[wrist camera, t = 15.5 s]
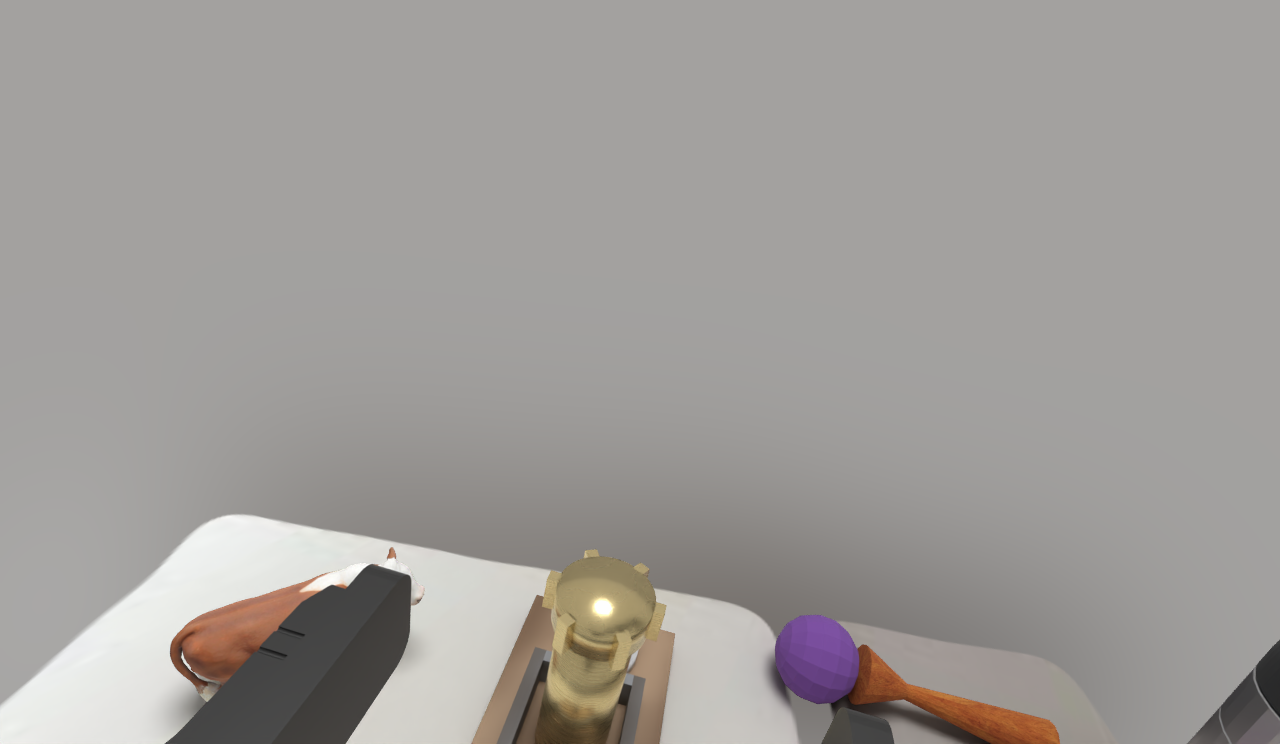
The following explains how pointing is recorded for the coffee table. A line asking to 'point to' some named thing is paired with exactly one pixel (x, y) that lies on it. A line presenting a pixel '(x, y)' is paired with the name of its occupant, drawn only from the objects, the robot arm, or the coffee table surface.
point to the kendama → (886, 683)
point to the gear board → (521, 686)
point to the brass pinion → (593, 645)
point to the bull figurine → (253, 626)
